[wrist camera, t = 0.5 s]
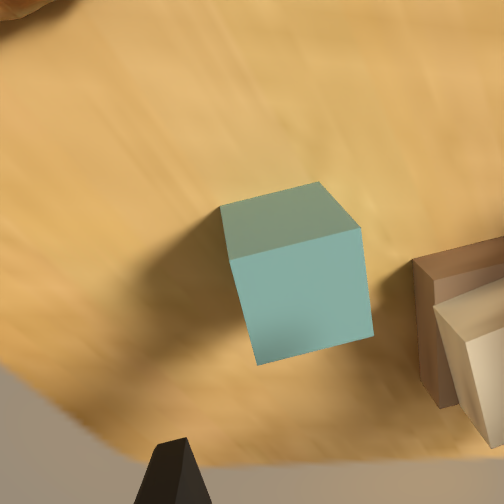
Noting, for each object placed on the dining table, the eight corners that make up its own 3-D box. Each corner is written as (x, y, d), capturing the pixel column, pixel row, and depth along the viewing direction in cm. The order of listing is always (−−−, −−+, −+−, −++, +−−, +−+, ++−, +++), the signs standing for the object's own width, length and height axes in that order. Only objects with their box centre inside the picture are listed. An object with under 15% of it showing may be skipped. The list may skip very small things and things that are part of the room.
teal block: (318, 181, 18) (360, 227, 14) (332, 268, 20) (373, 335, 15) (219, 205, 18) (229, 260, 13) (242, 291, 20) (257, 365, 15)
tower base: (557, 216, 21) (602, 238, 18) (546, 340, 24) (584, 371, 21) (406, 254, 20) (433, 280, 18) (415, 373, 24) (439, 408, 21)
